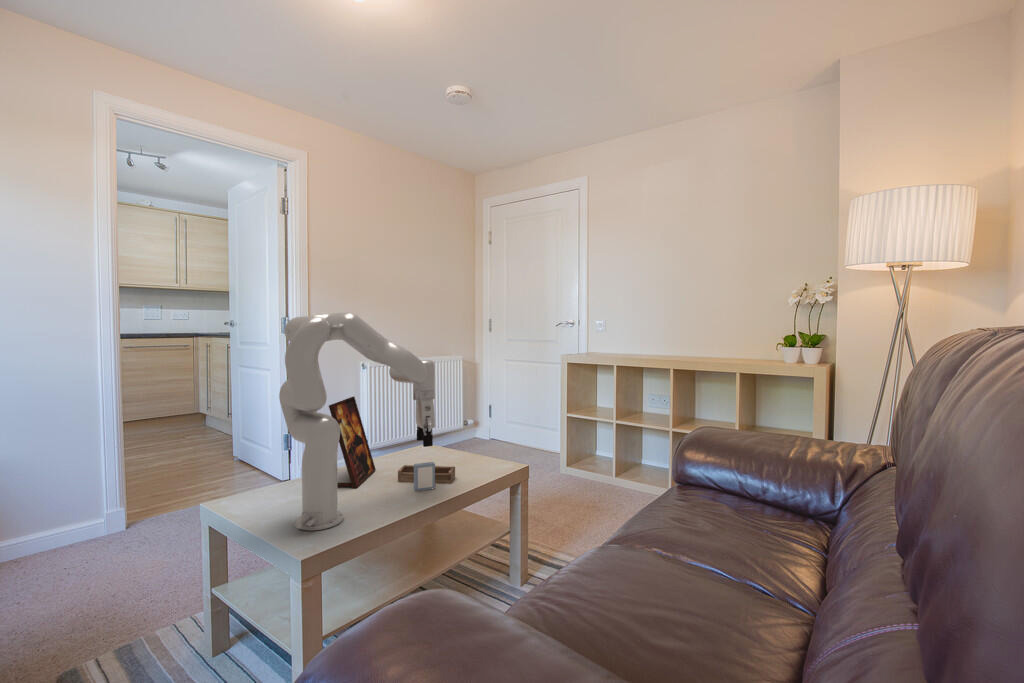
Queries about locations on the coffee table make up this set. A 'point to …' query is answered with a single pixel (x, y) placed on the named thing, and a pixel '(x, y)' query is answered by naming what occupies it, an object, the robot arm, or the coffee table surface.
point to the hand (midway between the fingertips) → (424, 443)
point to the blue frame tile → (424, 476)
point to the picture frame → (353, 442)
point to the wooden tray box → (441, 474)
